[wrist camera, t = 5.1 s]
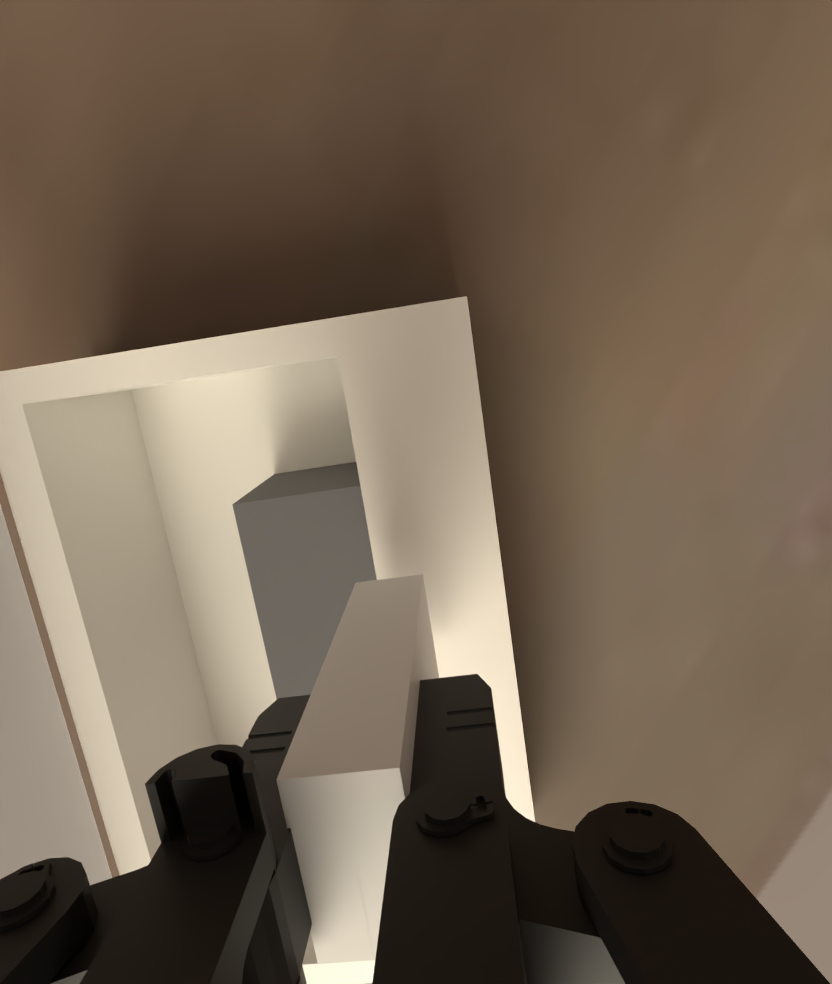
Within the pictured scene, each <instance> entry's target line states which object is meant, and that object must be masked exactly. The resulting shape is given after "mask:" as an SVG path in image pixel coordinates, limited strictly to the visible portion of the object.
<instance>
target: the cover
mask: <svg viewBox="0 0 832 984" xmlns="http://www.w3.org/2000/svg"><path fill="white" fill-rule="evenodd" d="M62 857H69V858H72V859H74V860H77V861H79V862H81V863H82V865H83V867H84V869H85V872H86V874H87V877H88V881H89V884H90V885H93V884H96V883H99V882H102V881H105V880H108V879H111V878H112V876H111V872H110V869H109V866H108V862H107V859H106V856H105V852H104V849H103V846H102V842H101V839H100V836H99V832H98V829H97V826H96V822H95V819H94V816H93V812H92V809H91V806H90V802H89V799H88V795H87V792H86V789H85V785H84V782H83V779H82V775H81V772H80V769H79V765H78V762H77V759H76V755H75V752H74V749H73V745H72V742H71V739H70V735H69V732H68V729H67V725H66V722H65V719H64V715H63V712H62V709H61V705H60V702H59V699H58V695H57V692H56V689H55V685H54V682H53V679H52V675H51V672H50V669H49V665H48V662H47V659H46V655H45V652H44V649H43V645H42V642H41V639H40V635H39V632H38V629H37V625H36V622H35V618H34V615H33V612H32V608H31V605H30V602H29V598H28V595H27V592H26V588H25V585H24V582H23V578H22V575H21V572H20V568H19V565H18V562H17V558H16V555H15V552H14V548H13V545H12V542H11V538H10V535H9V532H8V528H7V525H6V522H5V518H4V515H3V512H2V508H1V505H0V879H2V878H4V877H6V876H7V875H9V874H11V873H13V872H15V871H17V870H18V869H20V868H22V867H24V866H27V865H29V864H32V863H36V862H39V861H42V860H45V859H48V858H62Z"/></svg>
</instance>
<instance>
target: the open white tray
mask: <svg viewBox="0 0 832 984" xmlns="http://www.w3.org/2000/svg"><path fill="white" fill-rule="evenodd" d="M352 462H356V463H357V469H358V475H359V480H360V486H361V492H362V498H363V503H364V509H365V515H366V521H367V526H368V532H369V538H370V544H371V549H372V555H373V561H374V567H375V572H376V578H377V580H381V579H389V578H397V577H405V576H413V575H421V574H423V578H424V584H425V591H426V597H427V603H428V610H429V616H430V622H431V629H432V635H433V641H434V648H435V654H436V660H437V667H438V673H439V678H444V677H453V676H462V675H471V674H478V675H479V676H480V677H481V678H482V679H483V680H484V681H485V682H486V683H487V684H488V685H489V686H490V687H491V690H492V697H493V704H494V712H495V719H496V726H497V733H498V740H499V748H500V755H501V762H502V769H503V778H504V786H505V794H506V798H507V800H508V801H509V802H510V804H511V805H512V807H513V808H514V809H515V810H516V811H518V812H519V813H520V814H521V815H523V816H524V817H525V818H527V819H529V820H532V821H534V822H535V818H534V811H533V803H532V795H531V787H530V780H529V772H528V764H527V757H526V749H525V741H524V733H523V726H522V718H521V710H520V702H519V695H518V687H517V679H516V672H515V664H514V656H513V648H512V641H511V633H510V625H509V617H508V610H507V602H506V594H505V586H504V579H503V571H502V563H501V556H500V548H499V540H498V532H497V525H496V517H495V509H494V501H493V494H492V486H491V478H490V470H489V463H488V455H487V447H486V440H485V432H484V424H483V416H482V409H481V401H480V393H479V385H478V378H477V370H476V362H475V354H474V347H473V339H472V331H471V324H470V316H469V308H468V300H467V296H465V297H458V298H452V299H446V300H440V301H434V302H427V303H421V304H415V305H409V306H403V307H397V308H390V309H384V310H378V311H372V312H366V313H359V314H353V315H347V316H341V317H335V318H329V319H322V320H316V321H310V322H304V323H298V324H292V325H285V326H279V327H273V328H267V329H261V330H254V331H248V332H242V333H236V334H230V335H224V336H217V337H211V338H205V339H199V340H193V341H186V342H180V343H174V344H168V345H162V346H156V347H149V348H143V349H137V350H131V351H125V352H119V353H112V354H106V355H100V356H94V357H88V358H81V359H75V360H69V361H63V362H57V363H51V364H44V365H38V366H32V367H26V368H20V369H13V370H7V371H1V372H0V473H1V476H2V480H3V483H4V487H5V490H6V493H7V497H8V500H9V503H10V507H11V510H12V514H13V517H14V520H15V524H16V527H17V530H18V534H19V537H20V541H21V544H22V547H23V551H24V554H25V557H26V561H27V564H28V568H29V571H30V574H31V578H32V581H33V585H34V588H35V591H36V595H37V598H38V601H39V605H40V608H41V612H42V615H43V618H44V622H45V625H46V628H47V632H48V635H49V639H50V642H51V645H52V649H53V652H54V655H55V659H56V662H57V666H58V669H59V672H60V676H61V679H62V682H63V686H64V689H65V693H66V696H67V699H68V703H69V706H70V709H71V713H72V716H73V720H74V723H75V726H76V730H77V733H78V736H79V740H80V743H81V747H82V750H83V753H84V757H85V760H86V763H87V767H88V770H89V774H90V777H91V780H92V784H93V787H94V790H95V794H96V797H97V801H98V804H99V807H100V811H101V814H102V817H103V821H104V824H105V828H106V831H107V834H108V838H109V841H110V844H111V848H112V851H113V855H114V858H115V861H116V865H117V868H118V871H119V875H123V874H126V873H129V872H132V871H135V870H138V869H140V868H142V867H145V866H147V865H149V863H150V861H151V860H152V858H153V856H154V854H155V853H156V851H157V849H158V848H159V846H160V844H161V841H160V837H159V834H158V830H157V826H156V823H155V819H154V815H153V812H152V808H151V805H150V801H149V797H148V794H147V790H146V787H145V783H146V782H147V781H148V780H149V779H150V778H151V777H152V776H153V775H154V774H155V773H156V772H157V771H158V770H159V769H160V768H162V767H163V766H165V765H166V764H168V763H169V762H171V761H172V760H174V759H175V758H177V757H179V756H182V755H184V754H186V753H189V752H191V751H193V750H196V749H199V748H203V747H208V746H213V745H217V744H225V745H238V746H240V747H242V746H243V744H244V743H245V741H246V739H248V735H249V733H250V731H251V729H252V727H253V725H254V723H255V721H256V719H257V718H258V716H259V715H260V714H261V713H262V712H263V711H264V710H266V709H267V708H268V707H269V706H270V705H271V704H272V703H273V702H275V701H276V700H277V699H276V694H275V690H274V686H273V681H272V677H271V672H270V668H269V664H268V659H267V655H266V650H265V646H264V642H263V637H262V633H261V628H260V624H259V620H258V615H257V611H256V606H255V602H254V598H253V593H252V589H251V584H250V580H249V576H248V571H247V567H246V562H245V558H244V554H243V549H242V545H241V540H240V536H239V532H238V527H237V523H236V518H235V514H234V510H233V505H232V504H234V503H235V502H236V501H238V500H239V499H241V498H242V497H243V496H245V495H246V494H247V493H249V492H250V491H252V490H253V489H254V488H256V487H257V486H258V485H260V484H261V483H263V482H264V481H265V480H267V479H268V478H270V477H271V476H272V475H274V474H278V473H285V472H291V471H298V470H305V469H311V468H318V467H325V466H332V465H338V464H345V463H352ZM302 966H303V970H304V974H305V979H306V983H307V984H363V983H372V982H373V974H374V966H375V960H370V961H357V962H343V963H330V964H318V963H317V958H316V954H315V949H314V945H313V940H312V936H311V932H310V934H309V938H308V943H307V947H306V951H305V955H304V959H303V963H302Z"/></svg>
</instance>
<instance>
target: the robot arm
mask: <svg viewBox="0 0 832 984" xmlns="http://www.w3.org/2000/svg"><path fill="white" fill-rule="evenodd" d="M145 787H146V790H147V794H148V797H149V801H150V805H151V808H152V812H153V815H154V819H155V823H156V826H157V830H158V834H159V837H160V841H161V844H160V846H159V848H158V849H157V851H156V853H155V854H154V856H153V858H152V860H151V861H150V863H149V865H147V866H145V867H142V868H140V869H138V870H135V871H132V872H129V873H126V874H123V875H120V876H117V877H114V878H111V879H108V880H105V881H102V882H99V883H96V884H93V885H90V884H89V881H88V877H87V874H86V872H85V869H84V867H83V865H82V863H81V862H79V861H77V860H74V859H72V858H69V857H62V858H48V859H45V860H42V861H39V862H36V863H32V864H29V865H27V866H24V867H22V868H20V869H18V870H17V871H15V872H13V873H11V874H9V875H7V876H6V877H4V878H2V879H0V984H307V983H306V979H305V974H304V970H303V966H302V963H303V959H304V955H305V951H306V947H307V943H308V938H309V934H310V932H311V936H312V940H313V945H314V949H315V954H316V958H317V963H318V964H330V963H343V962H357V961H370V960H375V966H374V974H373V982H372V984H830V983H829V982H828V981H827V980H826V978H825V977H824V976H823V975H822V974H821V973H820V971H819V970H818V969H817V968H816V967H815V966H814V965H813V963H812V962H811V961H810V960H809V959H808V958H807V957H806V955H805V954H804V953H803V952H802V951H801V950H800V949H799V947H798V946H797V945H796V944H795V943H794V942H793V940H792V939H791V938H790V937H789V936H788V935H787V934H786V933H785V931H784V930H783V929H782V928H781V927H780V926H779V924H778V923H777V922H776V921H775V920H774V919H773V918H772V916H771V915H770V914H769V913H768V912H767V911H766V909H765V908H764V907H763V906H762V905H761V904H760V903H759V901H758V900H757V899H756V898H755V897H754V896H753V894H752V893H751V892H750V891H749V890H748V889H747V888H746V886H745V885H744V884H743V883H742V882H741V881H740V880H739V878H738V877H737V876H736V875H735V874H734V873H733V872H732V870H731V869H730V868H729V867H728V866H727V865H726V863H725V862H724V861H723V860H722V859H721V858H720V857H719V855H718V854H717V853H716V852H715V851H714V850H713V849H712V847H711V846H710V845H709V844H708V843H707V842H706V841H705V839H704V838H703V837H702V836H701V835H700V834H699V832H698V831H697V830H696V829H695V828H694V827H692V826H691V825H690V824H689V823H687V822H686V821H685V820H684V819H683V818H681V817H680V816H679V815H678V814H676V813H673V812H671V811H669V810H666V809H664V808H661V807H659V806H657V805H654V804H647V803H640V802H633V801H627V802H619V803H610V804H606V805H604V806H602V807H600V808H597V809H595V810H593V811H591V812H589V813H588V814H587V815H586V816H585V817H584V818H583V819H582V820H581V821H580V823H579V824H578V825H577V826H576V828H575V832H573V831H567V830H561V829H555V828H551V827H548V826H544V825H540V824H538V823H536V822H534V821H532V820H529V819H527V818H525V817H524V816H523V815H521V814H520V813H519V812H518V811H516V810H515V809H514V808H513V807H512V805H511V804H510V802H509V801H508V800H507V798H506V794H505V786H504V778H503V769H502V762H501V755H500V748H499V740H498V733H497V726H496V719H495V712H494V704H493V697H492V690H491V687H490V686H489V685H488V684H487V683H486V682H485V681H484V680H483V679H482V678H481V677H480V676H479V675H478V674H471V675H462V676H453V677H444V678H439V673H438V667H437V660H436V654H435V648H434V641H433V635H432V629H431V622H430V616H429V610H428V603H427V597H426V591H425V584H424V578H423V574H421V575H413V576H405V577H397V578H389V579H381V580H373V581H365V582H357V583H355V585H354V588H353V590H352V593H351V595H350V598H349V600H348V603H347V605H346V608H345V610H344V613H343V615H342V618H341V620H340V623H339V625H338V628H337V630H336V633H335V635H334V638H333V640H332V643H331V645H330V648H329V650H328V653H327V655H326V658H325V660H324V663H323V665H322V668H321V670H320V673H319V675H318V678H317V680H316V682H315V685H314V687H313V690H312V692H311V695H302V696H293V697H284V698H278V699H277V700H276V701H275V702H273V703H272V704H271V705H270V706H269V707H268V708H267V709H266V710H264V711H263V712H262V713H261V714H260V715H259V716H258V718H257V719H256V721H255V723H254V725H253V727H252V729H251V731H250V733H249V735H248V739H246V741H245V743H244V744H243V746H242V747H240V746H238V745H225V744H217V745H213V746H208V747H203V748H199V749H196V750H193V751H191V752H189V753H186V754H184V755H182V756H179V757H177V758H175V759H174V760H172V761H171V762H169V763H168V764H166V765H165V766H163V767H162V768H160V769H159V770H158V771H157V772H156V773H155V774H154V775H153V776H152V777H151V778H150V779H149V780H148V781H147V782H146V783H145Z"/></svg>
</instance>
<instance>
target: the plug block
mask: <svg viewBox="0 0 832 984" xmlns="http://www.w3.org/2000/svg"><path fill="white" fill-rule="evenodd" d="M232 505H233V510H234V514H235V518H236V523H237V527H238V532H239V536H240V540H241V545H242V549H243V554H244V558H245V562H246V567H247V571H248V576H249V580H250V584H251V589H252V593H253V598H254V602H255V606H256V611H257V615H258V620H259V624H260V628H261V633H262V637H263V642H264V646H265V650H266V655H267V659H268V664H269V668H270V672H271V677H272V681H273V686H274V690H275V694H276V699H278V698H284V697H293V696H302V695H311V692H312V690H313V687H314V685H315V682H316V680H317V678H318V675H319V673H320V670H321V668H322V665H323V663H324V660H325V658H326V655H327V653H328V650H329V648H330V645H331V643H332V640H333V638H334V635H335V633H336V630H337V628H338V625H339V623H340V620H341V618H342V615H343V613H344V610H345V608H346V605H347V603H348V600H349V598H350V595H351V593H352V590H353V588H354V585H355V583H357V582H365V581H373V580H377V578H376V572H375V567H374V561H373V555H372V549H371V544H370V538H369V532H368V526H367V521H366V515H365V509H364V503H363V498H362V492H361V486H360V480H359V475H358V469H357V463H356V462H352V463H345V464H338V465H332V466H325V467H318V468H311V469H305V470H298V471H291V472H285V473H278V474H274V475H272V476H271V477H270V478H268V479H267V480H265V481H264V482H263V483H261V484H260V485H258V486H257V487H256V488H254V489H253V490H252V491H250V492H249V493H247V494H246V495H245V496H243V497H242V498H241V499H239V500H238V501H236V502H235V503H234V504H232Z"/></svg>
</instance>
